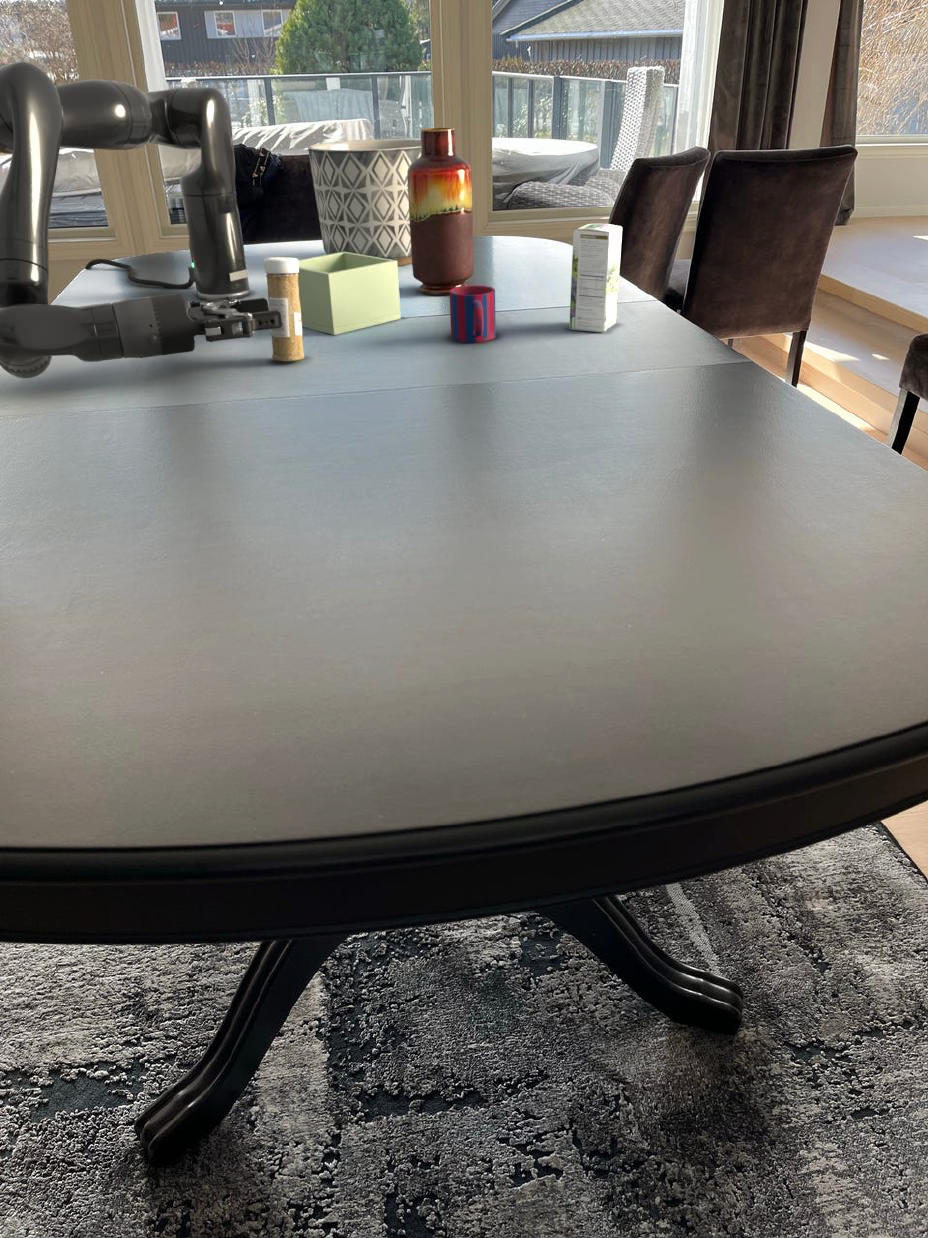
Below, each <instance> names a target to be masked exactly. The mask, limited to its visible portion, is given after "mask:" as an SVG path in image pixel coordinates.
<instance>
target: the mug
mask: <svg viewBox="0 0 928 1238" xmlns="http://www.w3.org/2000/svg"><path fill="white" fill-rule="evenodd" d="M449 293H450V295H449V315H450V316H449V318H450V321H449V322H450V338H451V340H453V341H456V342H459V343H471V344H472V343H481V342H482V343H483V342H488V341H491V340H493V339H495V338H496V335H497V334H496V289H495V288H494V287H491V286H487V285H468V286H462V287H456V288H453V289H451V290H450V291H449Z"/></svg>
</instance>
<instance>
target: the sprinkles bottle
mask: <svg viewBox="0 0 928 1238" xmlns="http://www.w3.org/2000/svg"><path fill="white" fill-rule="evenodd" d="M298 260H299V259H298V258H296V257H288V256H284V257H283V256H282V257H281V256H280V257H279V256H277V257H267V258H264V261H263V262H264V273H265V276H266V286H267V301H268V307H269V311H273V310H278V311H279V312H280V313H281V318H282V327H281V328H276V329H269V330H270V336H271V344H272V355H271V356H272V359H273V361H276V362H298V361H301V360H303V359H305V353H304V344H303V327H302V323H301V310H300V300H299V287H298V274H297V273H298V272H299V265H298Z"/></svg>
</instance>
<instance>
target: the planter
mask: <svg viewBox="0 0 928 1238" xmlns="http://www.w3.org/2000/svg"><path fill="white" fill-rule="evenodd" d="M307 150H308V157H309V163H310V164H309V165H310V169H311V176H312V183H313V188H314V194H315V201H316V208H317V213H318V220H319V226H320V233H321V239H322V245H323V250H324V253H325V254H326V255H329V254H334V253H339V252H350V253H355V254H361V255H367V256H373V257H379V258H384V259H390V260H396V261H397V266H404V265H408V264H412V254H411V237H410V220H409V201H408V182H407V170H408V168H409V166H410V165H411V163H412V162H413V161H415V160H416V159H418V158H419V157H420V156H421V138H419V139H418V138H417V139H416V138H379V139H358V140H356V139H355V140H343V141H342V140H341V141H331V142H322V143H317V144H312V145H309V146H308V147H307Z"/></svg>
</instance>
